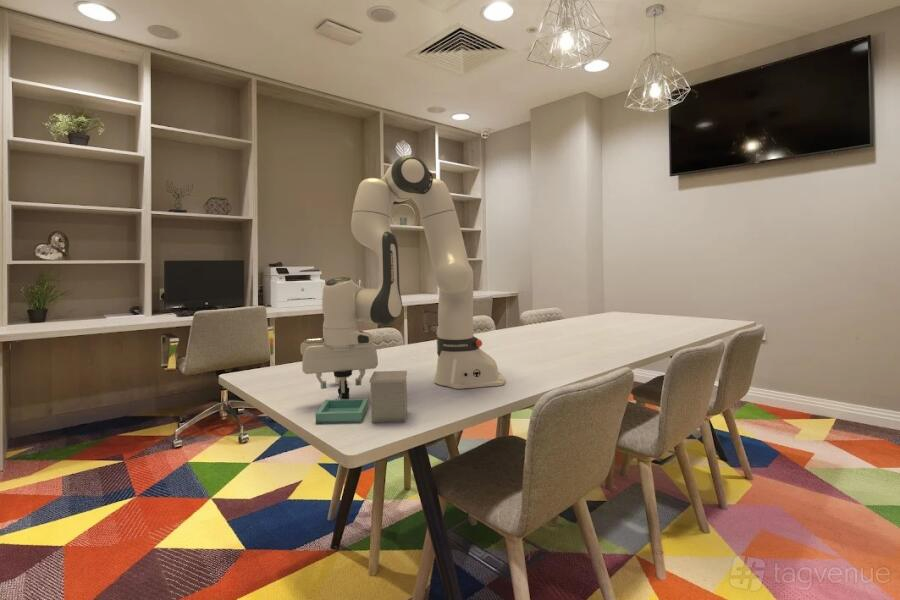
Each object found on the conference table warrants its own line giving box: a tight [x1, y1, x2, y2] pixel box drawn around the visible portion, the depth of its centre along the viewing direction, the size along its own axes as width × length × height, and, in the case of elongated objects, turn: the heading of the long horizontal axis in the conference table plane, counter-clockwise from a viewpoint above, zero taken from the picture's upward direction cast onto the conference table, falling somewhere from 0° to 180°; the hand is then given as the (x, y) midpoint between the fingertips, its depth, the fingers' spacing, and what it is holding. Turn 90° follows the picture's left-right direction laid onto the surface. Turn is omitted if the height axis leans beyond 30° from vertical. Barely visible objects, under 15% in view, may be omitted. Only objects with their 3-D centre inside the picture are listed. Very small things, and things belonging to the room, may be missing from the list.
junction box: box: [369, 370, 408, 424], centre depth 116 cm, size 9×8×11 cm
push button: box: [333, 370, 354, 400], centre depth 129 cm, size 7×5×10 cm
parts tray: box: [314, 398, 369, 425], centre depth 118 cm, size 11×11×2 cm
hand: (341, 386), depth 129 cm, fingers open, 8 cm apart
